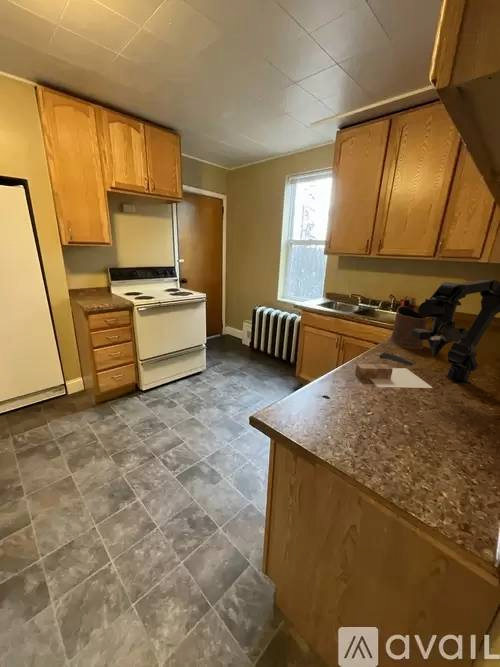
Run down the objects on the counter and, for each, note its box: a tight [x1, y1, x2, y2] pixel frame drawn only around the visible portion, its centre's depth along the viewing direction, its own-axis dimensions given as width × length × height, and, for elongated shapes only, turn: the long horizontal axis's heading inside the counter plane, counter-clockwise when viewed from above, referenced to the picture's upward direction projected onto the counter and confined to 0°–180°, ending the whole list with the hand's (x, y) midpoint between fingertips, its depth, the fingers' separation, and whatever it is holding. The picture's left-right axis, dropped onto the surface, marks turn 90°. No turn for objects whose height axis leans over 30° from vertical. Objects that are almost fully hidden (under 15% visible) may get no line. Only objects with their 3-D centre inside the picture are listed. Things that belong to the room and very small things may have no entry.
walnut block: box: [354, 363, 393, 380], centre depth 115 cm, size 4×4×13 cm
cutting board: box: [369, 367, 434, 389], centre depth 116 cm, size 22×18×1 cm
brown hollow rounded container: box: [387, 305, 433, 350], centre depth 156 cm, size 18×24×25 cm
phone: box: [378, 352, 417, 367], centre depth 136 cm, size 8×1×15 cm
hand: (434, 355), depth 110 cm, fingers closed
